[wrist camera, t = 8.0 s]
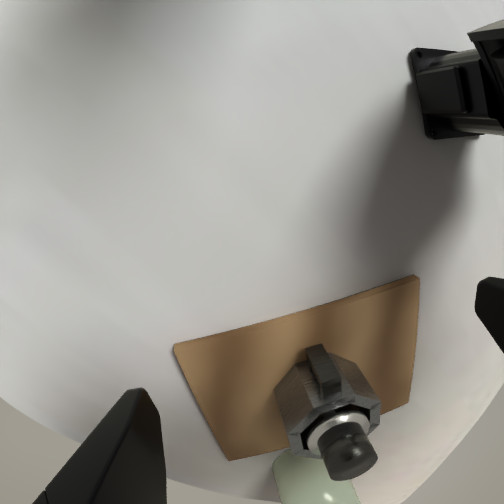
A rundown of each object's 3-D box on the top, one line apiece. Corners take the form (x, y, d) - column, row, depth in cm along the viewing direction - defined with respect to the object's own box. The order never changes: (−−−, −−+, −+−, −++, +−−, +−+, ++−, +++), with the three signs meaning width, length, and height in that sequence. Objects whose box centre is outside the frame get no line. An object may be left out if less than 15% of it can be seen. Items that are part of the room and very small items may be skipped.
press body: (353, 325, 22) (383, 364, 18) (356, 400, 25) (377, 438, 20) (263, 353, 21) (278, 399, 17) (282, 424, 24) (295, 466, 20)
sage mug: (336, 433, 27) (364, 496, 20) (338, 471, 30) (360, 523, 23) (266, 454, 27) (284, 521, 19) (280, 488, 30) (295, 543, 22)
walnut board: (414, 274, 22) (419, 278, 21) (404, 397, 27) (408, 402, 26) (174, 343, 21) (173, 350, 20) (227, 454, 26) (228, 461, 25)
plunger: (347, 368, 22) (389, 436, 15) (349, 406, 23) (383, 469, 17) (289, 387, 21) (317, 463, 15) (297, 423, 23) (322, 492, 16)
